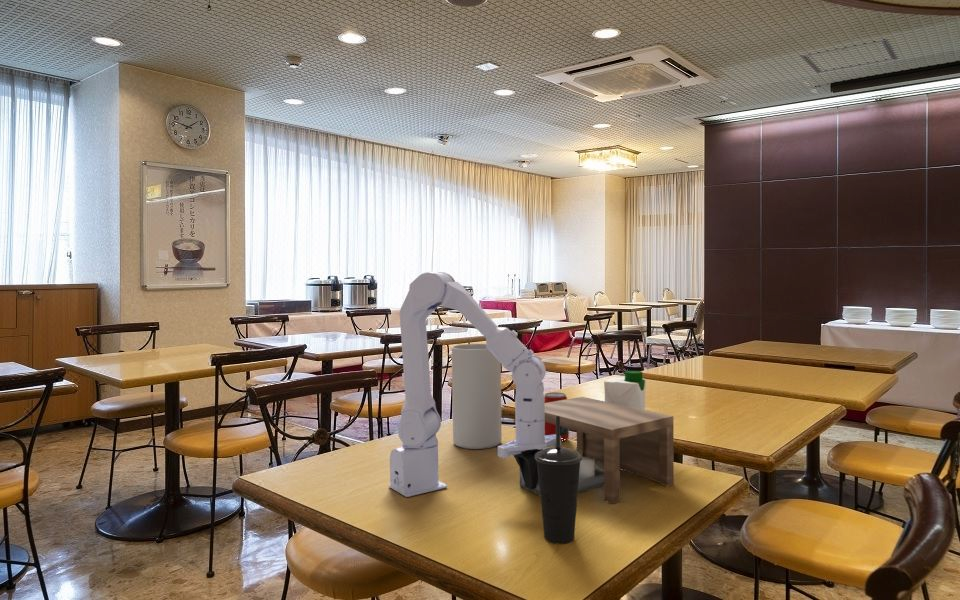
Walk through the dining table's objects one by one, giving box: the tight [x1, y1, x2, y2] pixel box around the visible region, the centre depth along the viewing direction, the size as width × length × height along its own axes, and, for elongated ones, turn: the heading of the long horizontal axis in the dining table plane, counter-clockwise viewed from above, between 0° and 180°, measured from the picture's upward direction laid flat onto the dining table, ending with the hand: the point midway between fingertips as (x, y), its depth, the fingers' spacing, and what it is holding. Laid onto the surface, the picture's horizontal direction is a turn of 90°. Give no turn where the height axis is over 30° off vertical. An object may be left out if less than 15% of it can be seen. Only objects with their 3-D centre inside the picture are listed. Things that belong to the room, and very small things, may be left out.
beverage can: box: [544, 392, 570, 443], centre depth 160 cm, size 7×7×12 cm
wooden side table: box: [545, 396, 675, 505], centre depth 131 cm, size 18×26×14 cm
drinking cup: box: [535, 416, 582, 545], centre depth 100 cm, size 8×8×20 cm
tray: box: [519, 457, 604, 496], centre depth 126 cm, size 16×10×5 cm, turn 125°
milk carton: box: [603, 370, 647, 410], centre depth 146 cm, size 9×9×20 cm
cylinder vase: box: [451, 343, 503, 450], centre depth 158 cm, size 12×12×25 cm
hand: (530, 487), depth 121 cm, fingers closed
